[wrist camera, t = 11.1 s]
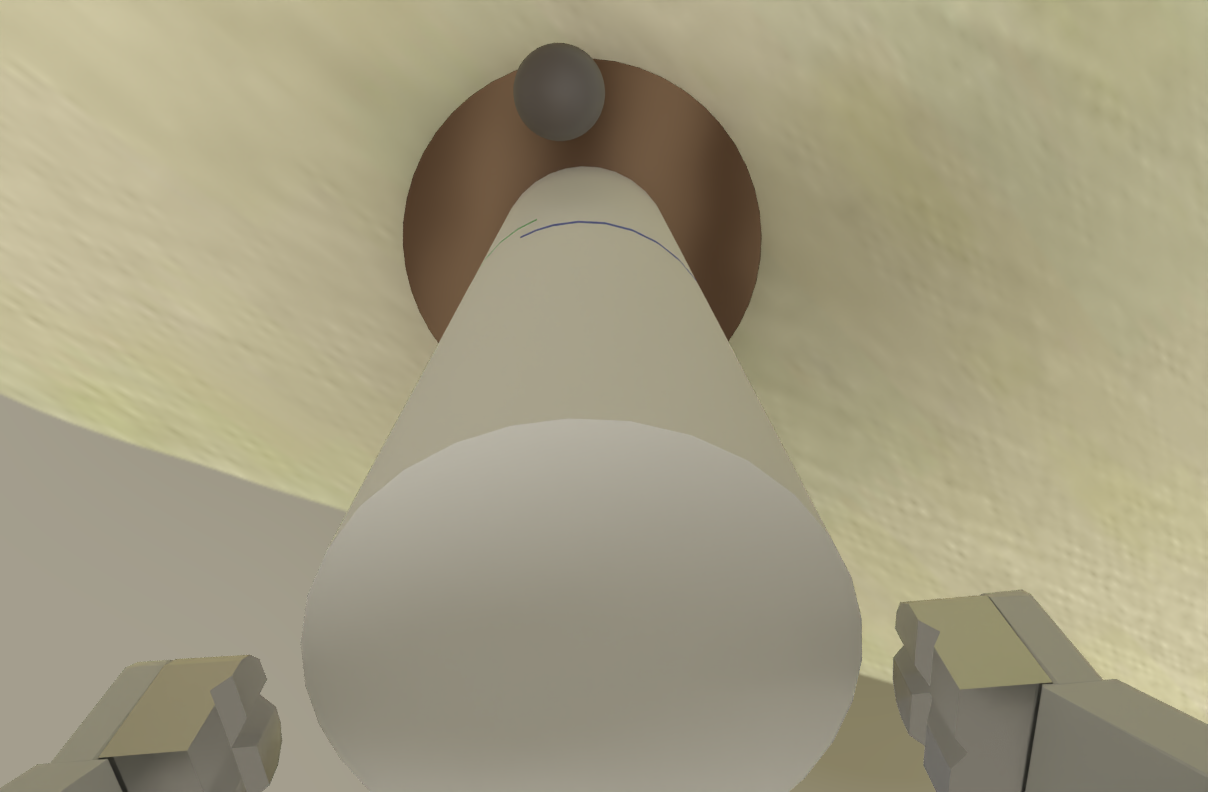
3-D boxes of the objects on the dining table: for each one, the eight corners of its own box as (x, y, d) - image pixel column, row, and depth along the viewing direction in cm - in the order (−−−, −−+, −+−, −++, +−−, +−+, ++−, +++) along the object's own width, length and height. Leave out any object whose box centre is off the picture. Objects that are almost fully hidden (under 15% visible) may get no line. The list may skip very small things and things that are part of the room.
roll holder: (751, 33, 32) (838, 13, 21) (757, 393, 37) (827, 527, 27) (377, 69, 32) (268, 68, 21) (442, 422, 38) (384, 565, 27)
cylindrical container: (684, 315, 34) (886, 817, 11) (525, 350, 35) (405, 904, 12) (651, 147, 32) (828, 357, 9) (479, 189, 32) (207, 492, 9)
